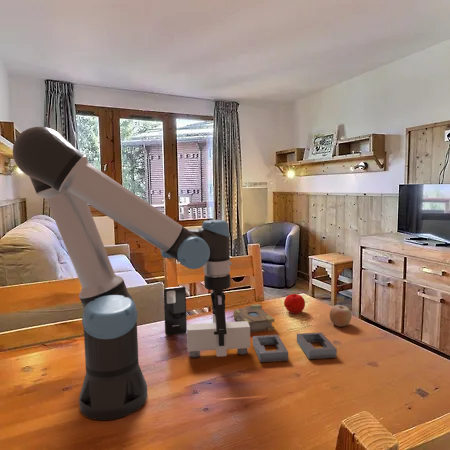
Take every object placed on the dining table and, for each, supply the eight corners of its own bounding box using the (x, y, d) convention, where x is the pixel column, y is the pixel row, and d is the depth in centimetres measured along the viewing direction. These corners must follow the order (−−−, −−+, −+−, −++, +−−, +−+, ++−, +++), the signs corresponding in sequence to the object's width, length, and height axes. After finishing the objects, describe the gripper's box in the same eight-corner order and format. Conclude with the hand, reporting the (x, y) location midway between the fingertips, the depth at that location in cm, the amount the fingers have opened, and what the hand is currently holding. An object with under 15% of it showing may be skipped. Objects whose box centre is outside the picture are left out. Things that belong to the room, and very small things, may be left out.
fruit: (327, 320, 129) (328, 299, 128) (349, 321, 128) (349, 299, 127) (331, 329, 121) (331, 306, 120) (353, 329, 120) (354, 306, 119)
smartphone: (186, 332, 120) (185, 286, 119) (187, 333, 119) (186, 286, 118) (164, 335, 118) (163, 288, 117) (165, 336, 117) (163, 288, 116)
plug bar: (187, 359, 101) (187, 330, 100) (187, 351, 106) (187, 324, 105) (250, 355, 103) (250, 326, 102) (247, 348, 108) (247, 321, 107)
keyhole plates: (260, 362, 99) (260, 353, 99) (252, 344, 110) (252, 336, 110) (336, 357, 101) (336, 348, 101) (321, 339, 113) (321, 332, 112)
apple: (283, 316, 134) (283, 297, 133) (284, 309, 142) (284, 291, 141) (305, 317, 133) (305, 297, 132) (304, 310, 140) (304, 291, 140)
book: (275, 330, 121) (274, 316, 121) (244, 335, 118) (244, 320, 118) (259, 316, 135) (259, 303, 135) (231, 319, 132) (231, 306, 132)
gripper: (235, 284, 90) (237, 364, 92) (225, 264, 115) (227, 327, 117) (206, 286, 89) (208, 367, 92) (202, 265, 114) (204, 329, 116)
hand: (219, 345), depth 104 cm, fingers open, 13 cm apart
